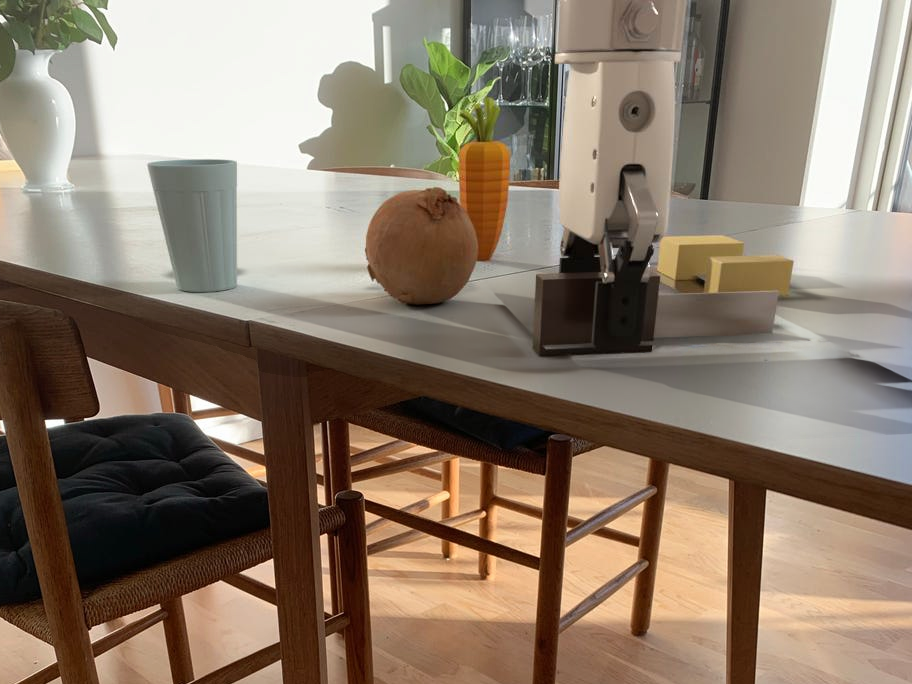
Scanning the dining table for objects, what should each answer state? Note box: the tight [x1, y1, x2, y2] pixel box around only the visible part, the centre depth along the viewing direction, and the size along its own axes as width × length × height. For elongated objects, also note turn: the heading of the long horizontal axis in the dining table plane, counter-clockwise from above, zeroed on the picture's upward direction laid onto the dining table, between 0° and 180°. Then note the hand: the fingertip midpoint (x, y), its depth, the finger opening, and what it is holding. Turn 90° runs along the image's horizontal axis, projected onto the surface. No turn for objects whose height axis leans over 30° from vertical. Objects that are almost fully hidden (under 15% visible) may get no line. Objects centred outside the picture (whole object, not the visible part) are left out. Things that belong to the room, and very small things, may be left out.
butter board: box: [650, 267, 705, 294], centre depth 83 cm, size 9×18×1 cm, turn 7°
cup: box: [146, 158, 238, 293], centre depth 85 cm, size 8×8×10 cm
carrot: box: [458, 96, 511, 262], centre depth 92 cm, size 5×5×15 cm
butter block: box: [657, 234, 745, 280], centre depth 86 cm, size 6×5×3 cm
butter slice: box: [704, 254, 795, 296], centre depth 77 cm, size 6×3×3 cm, turn 97°
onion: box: [364, 186, 478, 306], centre depth 79 cm, size 10×9×10 cm
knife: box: [532, 271, 780, 357], centre depth 65 cm, size 17×2×5 cm, turn 97°
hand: (596, 329), depth 65 cm, fingers open, 9 cm apart
